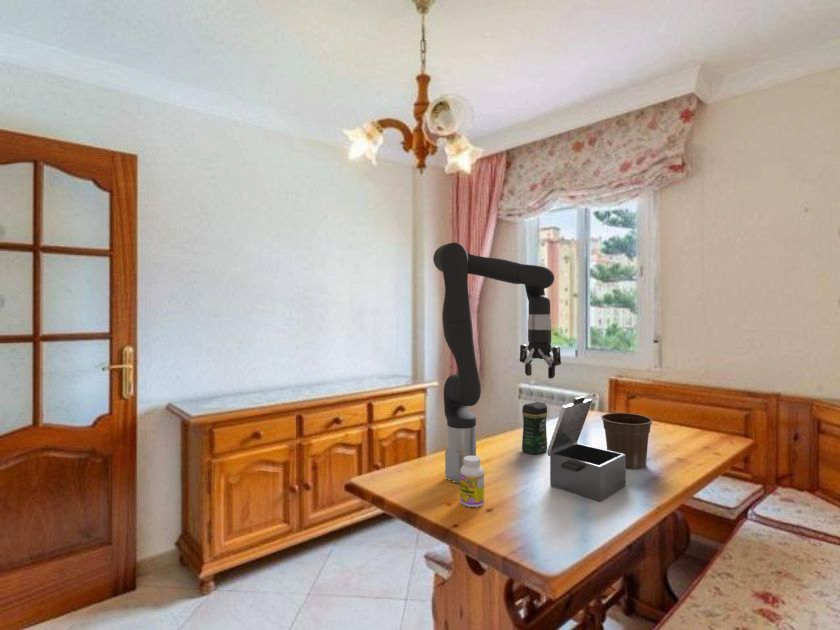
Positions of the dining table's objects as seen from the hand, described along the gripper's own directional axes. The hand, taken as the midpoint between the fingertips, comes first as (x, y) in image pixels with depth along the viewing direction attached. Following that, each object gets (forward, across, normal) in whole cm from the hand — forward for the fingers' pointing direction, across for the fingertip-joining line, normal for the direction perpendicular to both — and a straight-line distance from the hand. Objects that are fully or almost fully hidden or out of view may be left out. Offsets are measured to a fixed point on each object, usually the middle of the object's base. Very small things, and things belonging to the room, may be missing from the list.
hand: (539, 376), depth 153 cm
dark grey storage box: (+32, +17, 0) cm, 36 cm away
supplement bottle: (+32, +1, -35) cm, 47 cm away
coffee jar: (+32, -14, +18) cm, 39 cm away
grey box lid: (+14, +12, 0) cm, 18 cm away
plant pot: (+32, +16, +29) cm, 46 cm away
